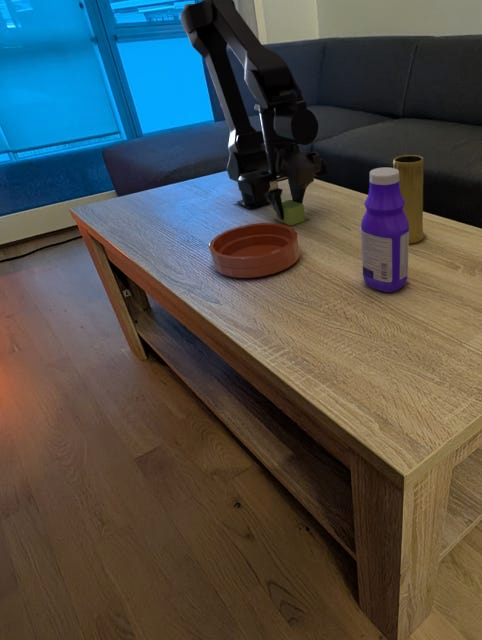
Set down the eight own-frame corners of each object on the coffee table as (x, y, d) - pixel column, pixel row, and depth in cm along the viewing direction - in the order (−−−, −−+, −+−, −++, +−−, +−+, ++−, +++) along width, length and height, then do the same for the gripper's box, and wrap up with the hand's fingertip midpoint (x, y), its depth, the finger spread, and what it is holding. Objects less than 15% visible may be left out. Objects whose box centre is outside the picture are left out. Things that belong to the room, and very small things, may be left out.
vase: (423, 231, 88) (425, 153, 79) (423, 244, 83) (427, 162, 74) (391, 231, 88) (391, 154, 80) (390, 244, 84) (390, 164, 75)
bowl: (199, 262, 83) (193, 241, 80) (269, 236, 90) (266, 217, 88) (242, 289, 73) (237, 267, 71) (317, 258, 81) (314, 237, 78)
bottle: (414, 284, 71) (417, 169, 60) (392, 298, 68) (391, 180, 57) (379, 271, 75) (377, 162, 64) (356, 284, 72) (350, 172, 61)
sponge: (277, 220, 98) (274, 204, 95) (292, 215, 100) (289, 199, 97) (290, 225, 94) (288, 209, 92) (305, 220, 96) (303, 204, 94)
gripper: (260, 153, 77) (275, 239, 87) (341, 133, 87) (346, 212, 96) (228, 145, 84) (245, 225, 94) (306, 127, 94) (315, 202, 103)
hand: (290, 216), depth 97 cm, fingers closed on sponge, 4 cm apart
